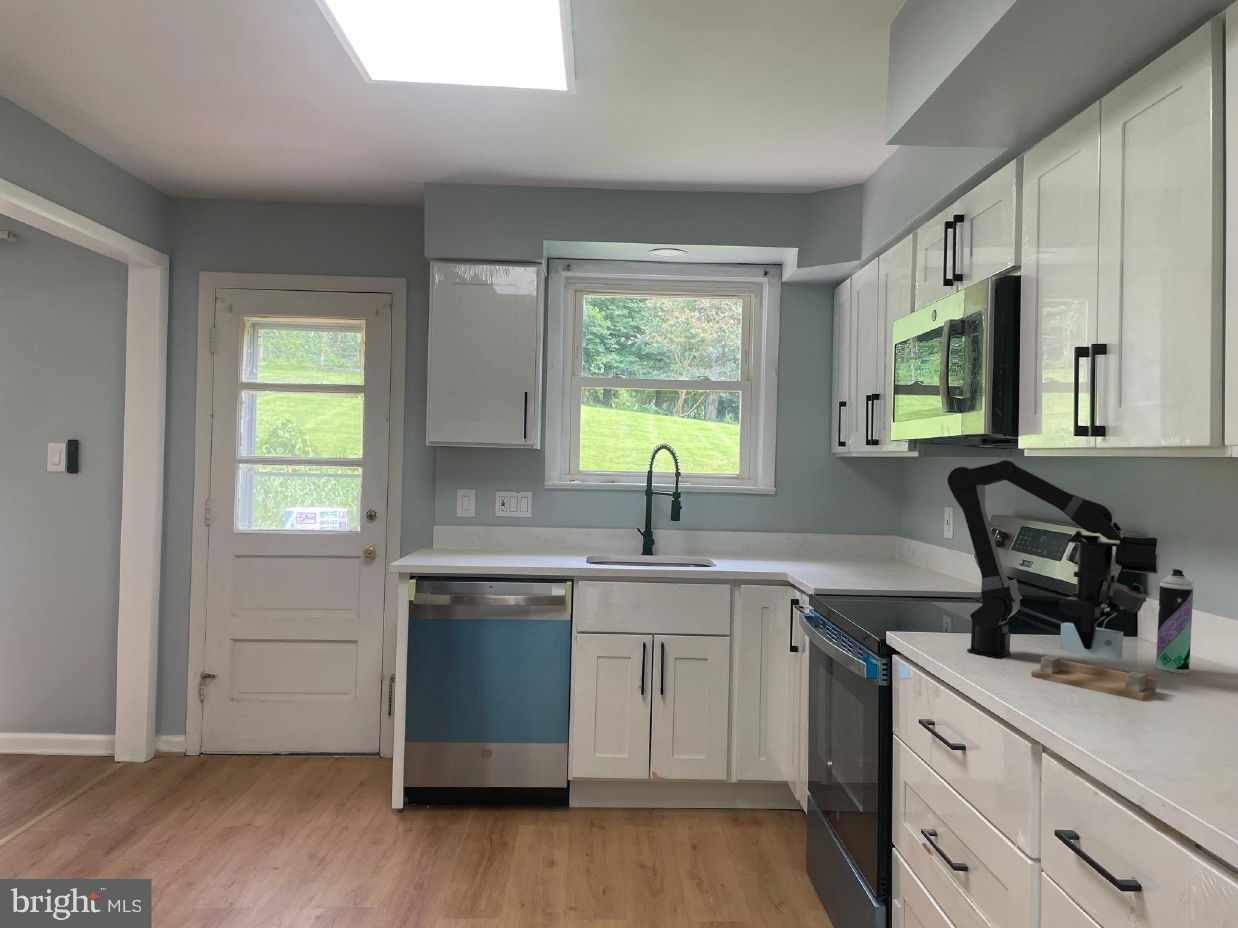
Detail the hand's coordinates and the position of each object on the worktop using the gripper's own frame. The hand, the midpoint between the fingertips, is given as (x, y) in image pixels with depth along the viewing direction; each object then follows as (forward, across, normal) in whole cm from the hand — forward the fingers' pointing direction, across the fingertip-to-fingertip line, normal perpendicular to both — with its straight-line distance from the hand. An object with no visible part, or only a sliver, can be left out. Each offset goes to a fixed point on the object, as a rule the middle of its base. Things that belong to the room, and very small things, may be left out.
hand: (1090, 647), depth 158 cm
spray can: (+5, +16, -10) cm, 19 cm away
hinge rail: (+4, -11, -4) cm, 12 cm away
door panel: (+1, 0, 0) cm, 1 cm away
